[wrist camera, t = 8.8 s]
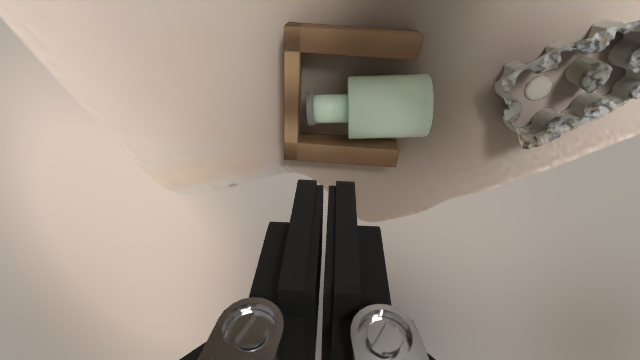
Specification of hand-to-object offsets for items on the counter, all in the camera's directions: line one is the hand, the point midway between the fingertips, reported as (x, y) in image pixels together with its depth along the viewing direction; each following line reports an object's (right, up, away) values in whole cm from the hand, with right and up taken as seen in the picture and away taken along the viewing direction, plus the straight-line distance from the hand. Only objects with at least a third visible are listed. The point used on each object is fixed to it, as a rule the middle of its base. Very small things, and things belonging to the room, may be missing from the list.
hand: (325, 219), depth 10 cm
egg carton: (+21, +10, +19) cm, 30 cm away
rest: (+2, +9, +20) cm, 22 cm away
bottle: (+9, +8, +18) cm, 22 cm away
